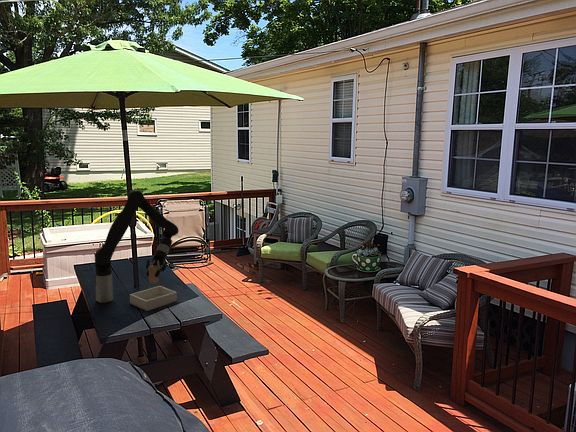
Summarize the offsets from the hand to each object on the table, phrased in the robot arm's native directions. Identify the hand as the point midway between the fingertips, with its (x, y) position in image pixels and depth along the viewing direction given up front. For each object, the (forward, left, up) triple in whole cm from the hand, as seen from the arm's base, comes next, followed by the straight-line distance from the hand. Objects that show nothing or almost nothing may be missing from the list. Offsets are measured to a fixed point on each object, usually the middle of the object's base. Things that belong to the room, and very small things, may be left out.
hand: (151, 276), depth 281 cm
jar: (+2, +1, -4) cm, 5 cm away
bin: (+2, +2, -18) cm, 18 cm away
